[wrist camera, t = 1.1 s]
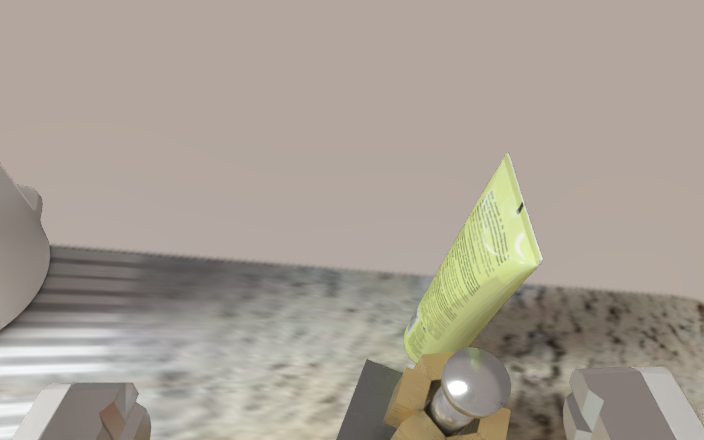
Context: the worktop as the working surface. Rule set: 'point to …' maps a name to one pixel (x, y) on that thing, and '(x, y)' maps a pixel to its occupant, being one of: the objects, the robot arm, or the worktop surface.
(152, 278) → the worktop surface
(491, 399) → the post
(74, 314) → the worktop surface
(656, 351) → the worktop surface
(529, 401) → the worktop surface
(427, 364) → the tan nut with handle
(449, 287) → the tube
